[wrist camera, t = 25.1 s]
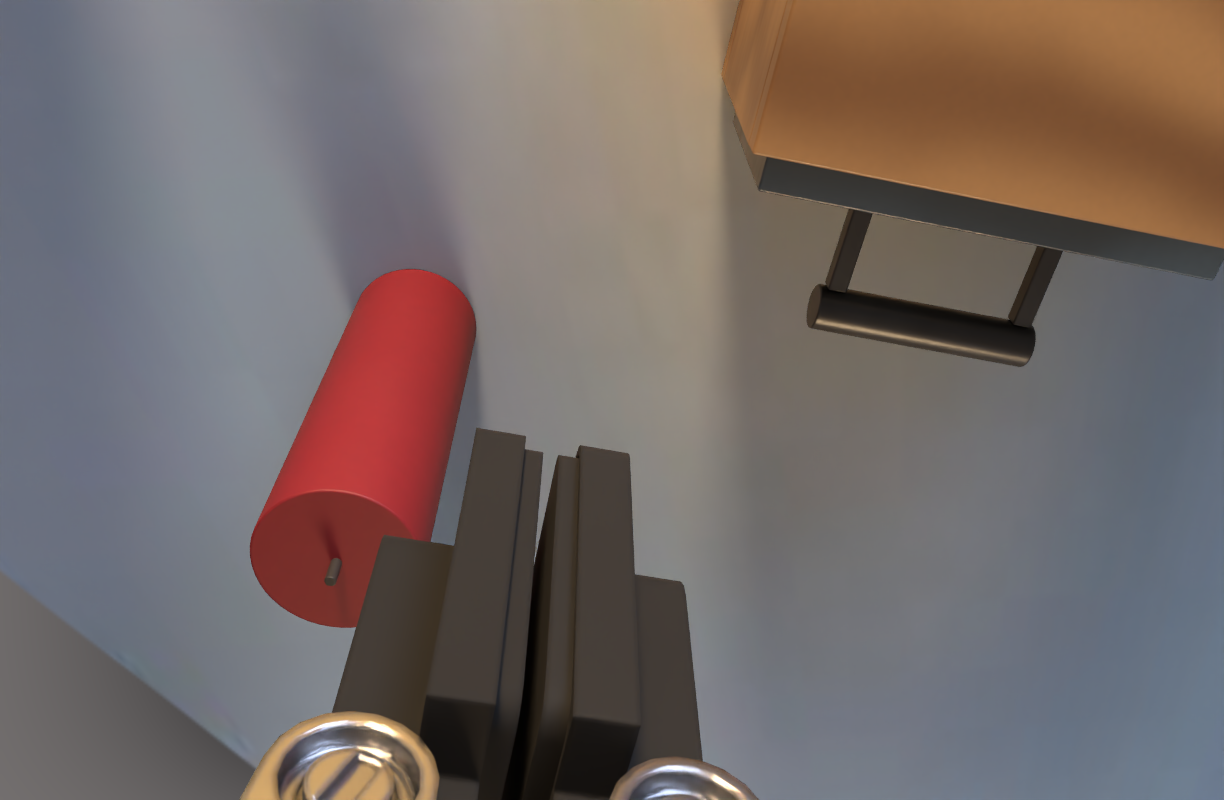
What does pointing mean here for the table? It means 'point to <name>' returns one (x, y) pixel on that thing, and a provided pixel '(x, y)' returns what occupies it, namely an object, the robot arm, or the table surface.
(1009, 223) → the drawer
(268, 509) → the candle
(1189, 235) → the cabinet
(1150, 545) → the table surface
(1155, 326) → the table surface
